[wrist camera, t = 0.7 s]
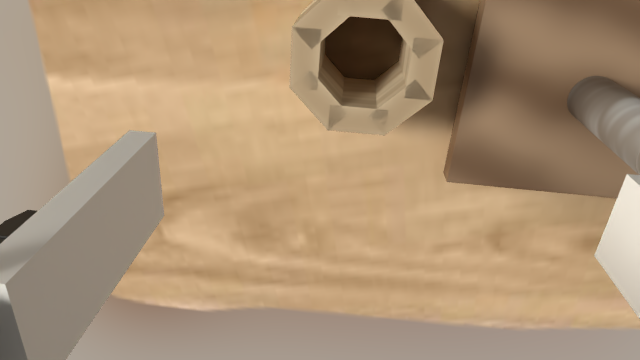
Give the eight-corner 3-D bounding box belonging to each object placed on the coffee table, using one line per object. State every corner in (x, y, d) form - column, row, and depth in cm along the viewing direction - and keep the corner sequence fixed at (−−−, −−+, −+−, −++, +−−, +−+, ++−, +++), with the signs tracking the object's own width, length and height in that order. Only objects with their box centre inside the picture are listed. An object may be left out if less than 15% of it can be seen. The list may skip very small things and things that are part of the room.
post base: (486, -31, 30) (556, -8, 19) (754, -9, 29) (977, 27, 19) (443, 172, 36) (477, 274, 26) (661, 193, 36) (788, 306, 25)
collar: (305, -30, 31) (294, -21, 25) (436, -20, 30) (452, -8, 25) (299, 95, 34) (287, 126, 29) (415, 106, 34) (425, 139, 29)
